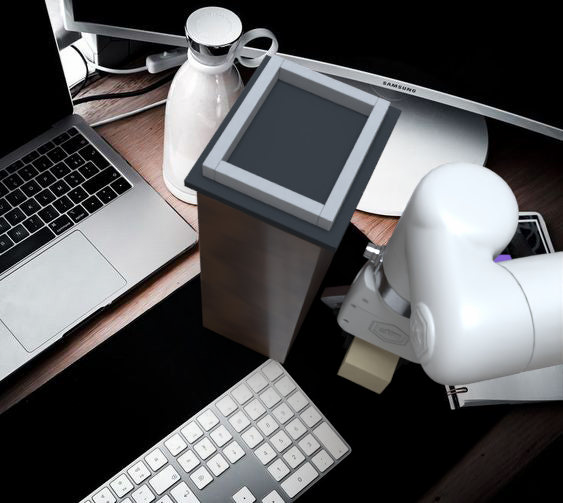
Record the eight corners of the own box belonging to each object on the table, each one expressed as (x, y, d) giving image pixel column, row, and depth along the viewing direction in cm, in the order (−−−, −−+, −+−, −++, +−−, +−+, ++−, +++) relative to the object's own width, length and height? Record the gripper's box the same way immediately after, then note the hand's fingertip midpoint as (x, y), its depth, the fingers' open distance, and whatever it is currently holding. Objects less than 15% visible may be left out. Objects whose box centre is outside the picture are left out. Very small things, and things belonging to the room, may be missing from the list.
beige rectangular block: (406, 324, 71) (417, 308, 67) (379, 394, 66) (390, 382, 62) (365, 306, 71) (374, 289, 67) (337, 374, 67) (344, 361, 63)
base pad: (399, 116, 50) (407, 98, 48) (334, 253, 44) (340, 239, 42) (265, 61, 51) (267, 40, 49) (183, 186, 45) (182, 169, 43)
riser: (330, 263, 75) (388, 111, 50) (283, 364, 68) (322, 248, 44) (256, 230, 76) (276, 65, 51) (202, 326, 70) (196, 191, 45)
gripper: (312, 270, 52) (289, 344, 68) (505, 356, 50) (435, 411, 66) (344, 204, 55) (316, 288, 71) (526, 281, 53) (454, 351, 69)
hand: (373, 347), depth 68 cm, fingers closed on beige rectangular block, 5 cm apart
